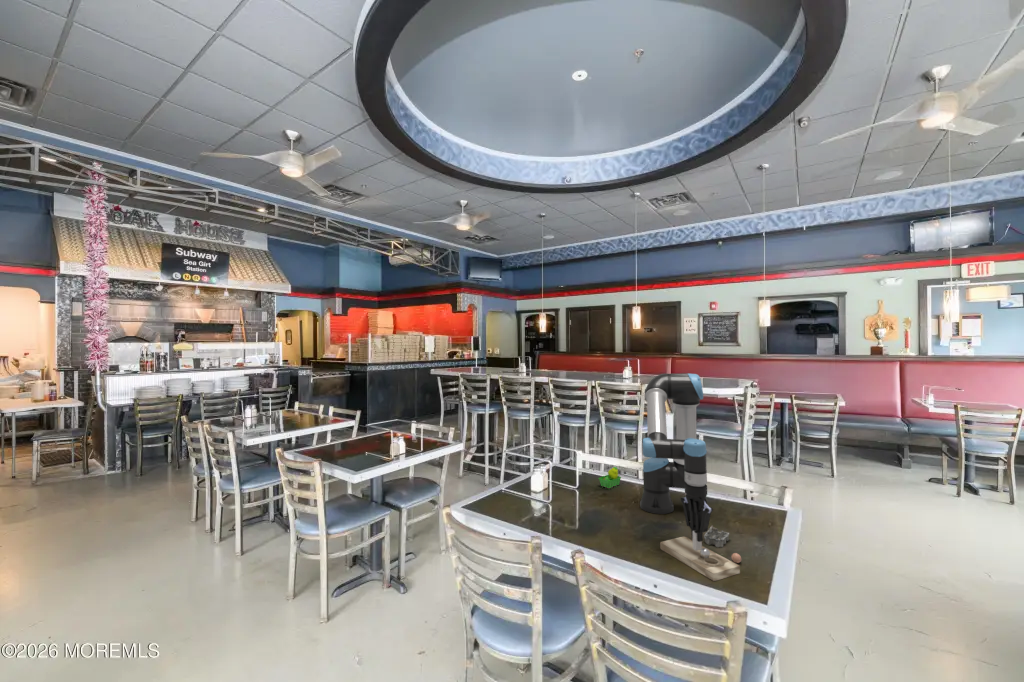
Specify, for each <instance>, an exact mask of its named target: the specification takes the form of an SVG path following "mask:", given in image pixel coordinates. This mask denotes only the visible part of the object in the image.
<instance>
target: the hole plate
mask: <svg viewBox="0 0 1024 682" xmlns="http://www.w3.org/2000/svg"><path fill="white" fill-rule="evenodd" d="M659 543H660V544H659V545H660V546H659V547H660V550H662V551H663V552H665V553H667V554H668V555H669V556H671V557H674V558H675V559H676V560H678V561H680V562H681V563H683V564H685V565H686V566H688V567H689V568H691V569H693V570H695V571H696V572H698V573H699V574H702V575H703V576H705V577H706V578H707V579H709V580H711V581H713V582H716V581H720V580H722V579H726V578H729V577H732V576H735V575H739V574H741V567H740V566H741V565H740V564H738V563H735V562H733V560H731V559H730V560H729V559H728V558H726V557H724V556H722V555H720V554H719V553H716V552H715V551H713V550H711V549H709V548H707V547H705V546H703V545H702V548H706V549H708V550H709V552H710V556H709V557H708V558H703V557H702V556H701V554H700V550H701V549H700V550H697V551H696V550H694V549H693V539H690V538H689V537H686V536H680V537H676V538H672V539H667V540H664V541H660V542H659Z"/></svg>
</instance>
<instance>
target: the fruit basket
mask: <svg viewBox="0 0 1024 682" xmlns="http://www.w3.org/2000/svg"><path fill="white" fill-rule="evenodd" d="M621 478H622V477H621V476H619V470H618V467H616V466H613V467H612V468H610V469H609V470H608V472H607V474H605V475H603V476H601V477H598V480H599V483H600V486H604V487H607V488H611V487H613V486H616V485H620V482H621ZM616 487H617V486H616ZM611 489H612V488H611Z"/></svg>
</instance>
